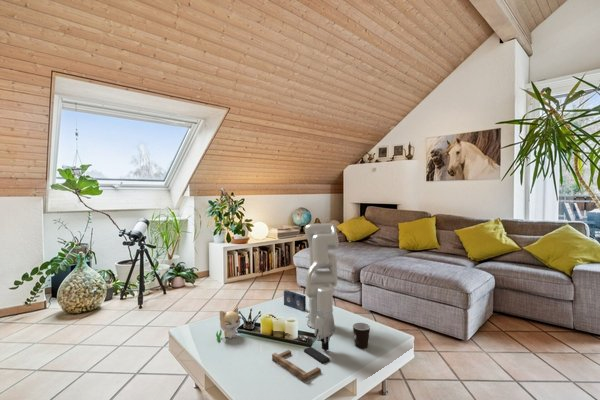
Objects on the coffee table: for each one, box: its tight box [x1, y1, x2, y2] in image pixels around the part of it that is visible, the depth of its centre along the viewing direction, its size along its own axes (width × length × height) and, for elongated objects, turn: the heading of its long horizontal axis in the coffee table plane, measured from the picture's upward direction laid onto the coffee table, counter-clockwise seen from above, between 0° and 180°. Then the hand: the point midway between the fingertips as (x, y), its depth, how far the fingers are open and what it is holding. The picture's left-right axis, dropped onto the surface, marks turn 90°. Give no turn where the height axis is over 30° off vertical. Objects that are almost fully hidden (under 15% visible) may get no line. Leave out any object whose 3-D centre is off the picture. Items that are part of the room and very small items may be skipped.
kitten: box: [215, 306, 241, 341], centre depth 168 cm, size 15×10×15 cm
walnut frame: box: [271, 349, 322, 383], centre depth 139 cm, size 22×10×3 cm, turn 42°
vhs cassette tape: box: [283, 289, 307, 312], centre depth 209 cm, size 18×3×10 cm, turn 46°
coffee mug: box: [352, 322, 371, 350], centre depth 159 cm, size 12×9×10 cm
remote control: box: [303, 346, 331, 365], centre depth 148 cm, size 5×2×15 cm
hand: (325, 349), depth 152 cm, fingers closed
